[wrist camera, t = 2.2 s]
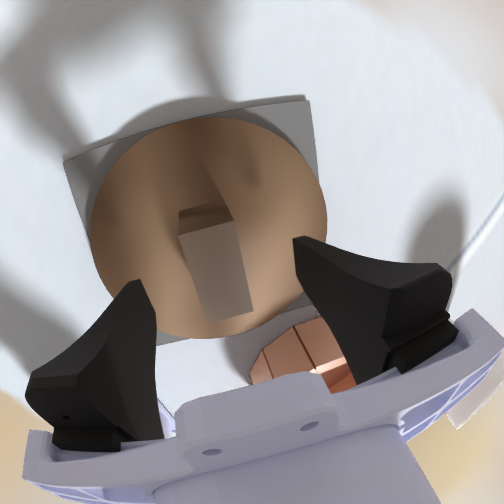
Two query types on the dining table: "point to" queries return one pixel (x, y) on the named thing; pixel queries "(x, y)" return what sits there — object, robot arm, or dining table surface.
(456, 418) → the foam cup
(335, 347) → the bowl
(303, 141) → the mat
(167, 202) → the lid
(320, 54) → the dining table surface
